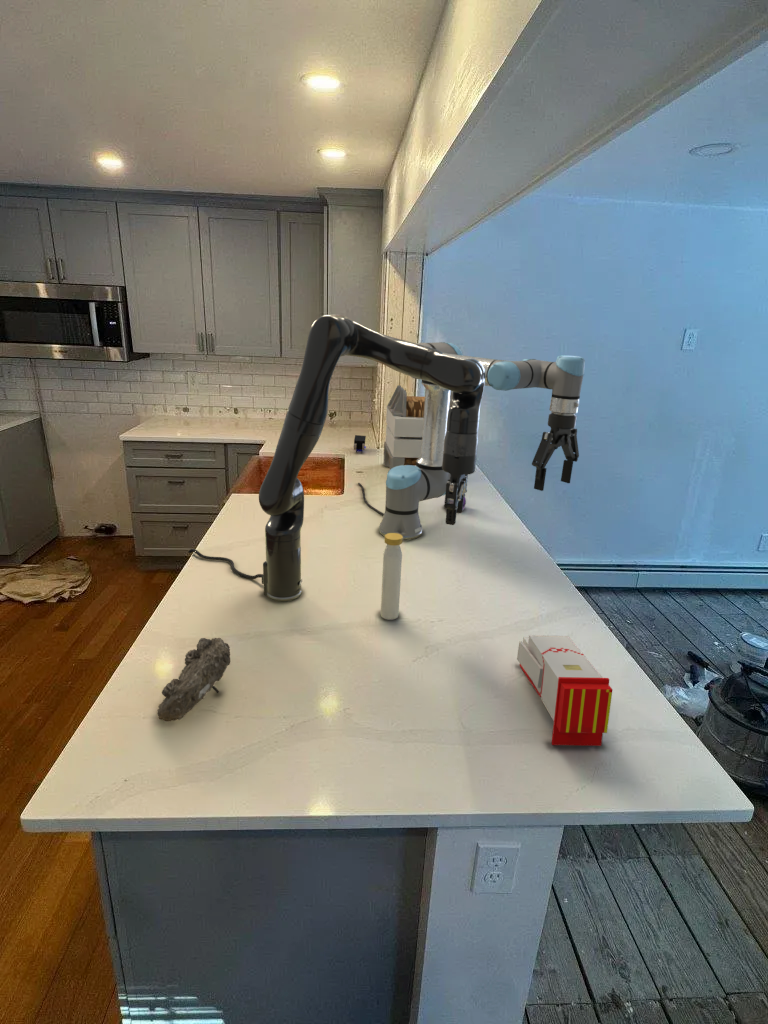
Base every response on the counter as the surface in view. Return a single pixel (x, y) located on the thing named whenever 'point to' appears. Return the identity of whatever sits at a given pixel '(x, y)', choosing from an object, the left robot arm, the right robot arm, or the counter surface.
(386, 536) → the cap
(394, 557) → the bottle
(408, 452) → the white slatted box
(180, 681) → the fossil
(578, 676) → the toy
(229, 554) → the counter surface
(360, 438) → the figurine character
